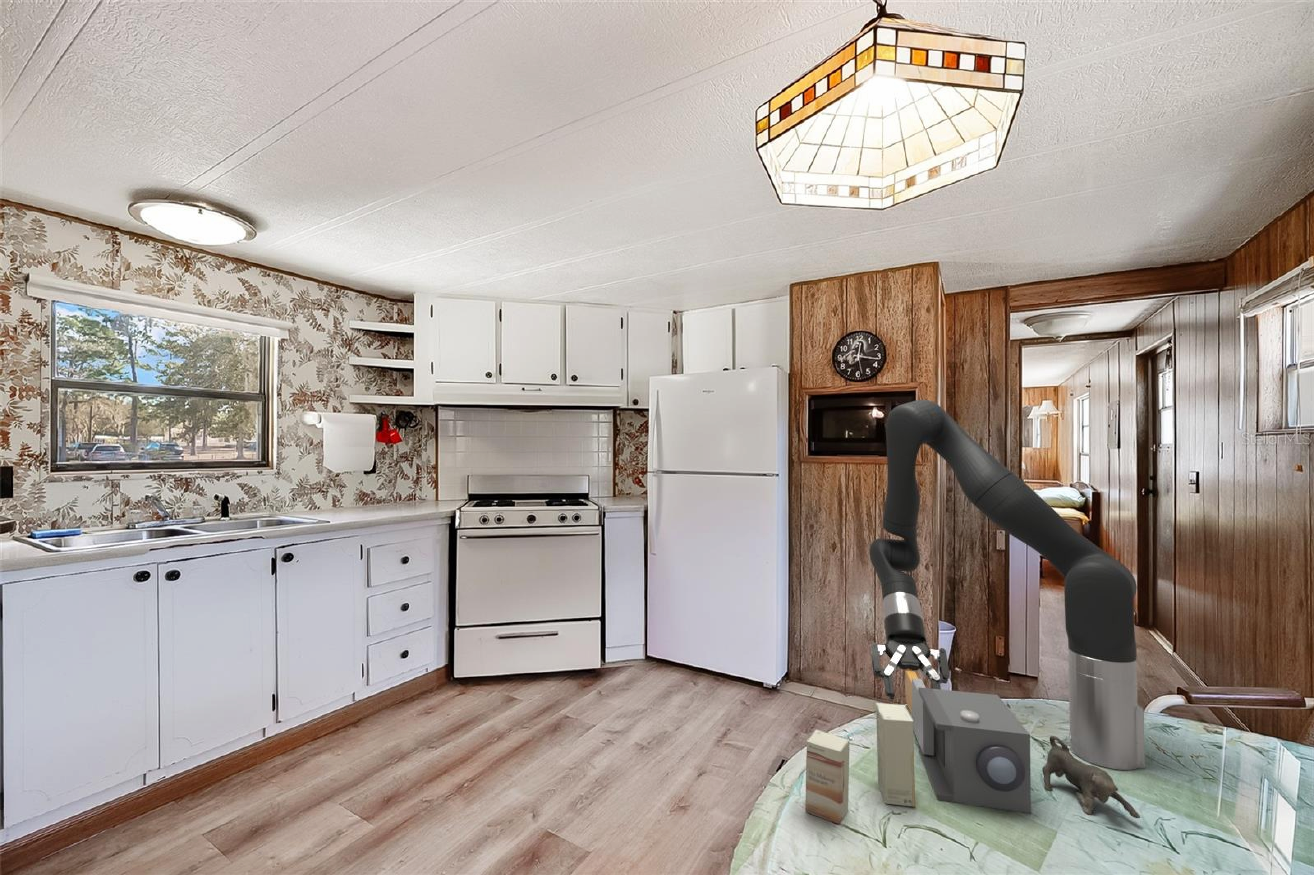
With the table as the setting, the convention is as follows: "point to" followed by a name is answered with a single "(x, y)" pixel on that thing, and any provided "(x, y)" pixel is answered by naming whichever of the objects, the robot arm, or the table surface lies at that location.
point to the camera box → (977, 751)
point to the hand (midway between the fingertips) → (914, 700)
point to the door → (919, 713)
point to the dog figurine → (1082, 778)
